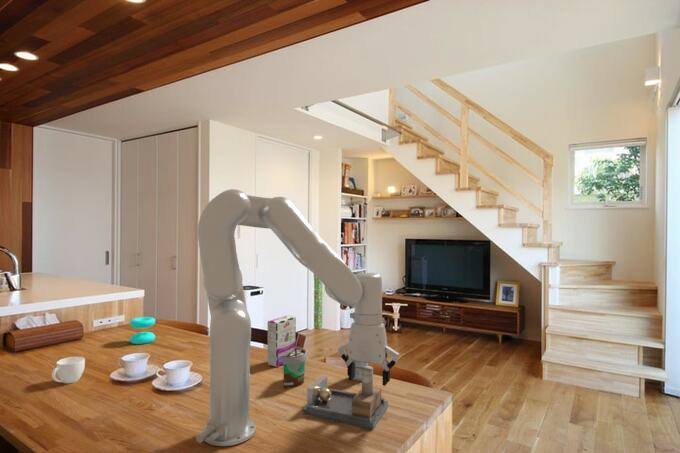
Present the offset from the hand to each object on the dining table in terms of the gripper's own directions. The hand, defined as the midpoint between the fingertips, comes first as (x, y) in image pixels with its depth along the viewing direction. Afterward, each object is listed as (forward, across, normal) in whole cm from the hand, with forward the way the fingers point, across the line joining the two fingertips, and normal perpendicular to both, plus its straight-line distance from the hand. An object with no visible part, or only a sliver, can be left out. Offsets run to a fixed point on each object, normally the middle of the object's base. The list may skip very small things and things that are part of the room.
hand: (368, 381), depth 109 cm
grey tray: (+9, -6, 0) cm, 11 cm away
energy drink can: (+9, -11, +24) cm, 28 cm away
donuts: (+8, -112, +25) cm, 115 cm away
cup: (+8, -96, -18) cm, 98 cm away
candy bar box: (+9, -43, +27) cm, 52 cm away
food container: (+9, -28, +12) cm, 32 cm away
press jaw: (+7, 0, 0) cm, 7 cm away
